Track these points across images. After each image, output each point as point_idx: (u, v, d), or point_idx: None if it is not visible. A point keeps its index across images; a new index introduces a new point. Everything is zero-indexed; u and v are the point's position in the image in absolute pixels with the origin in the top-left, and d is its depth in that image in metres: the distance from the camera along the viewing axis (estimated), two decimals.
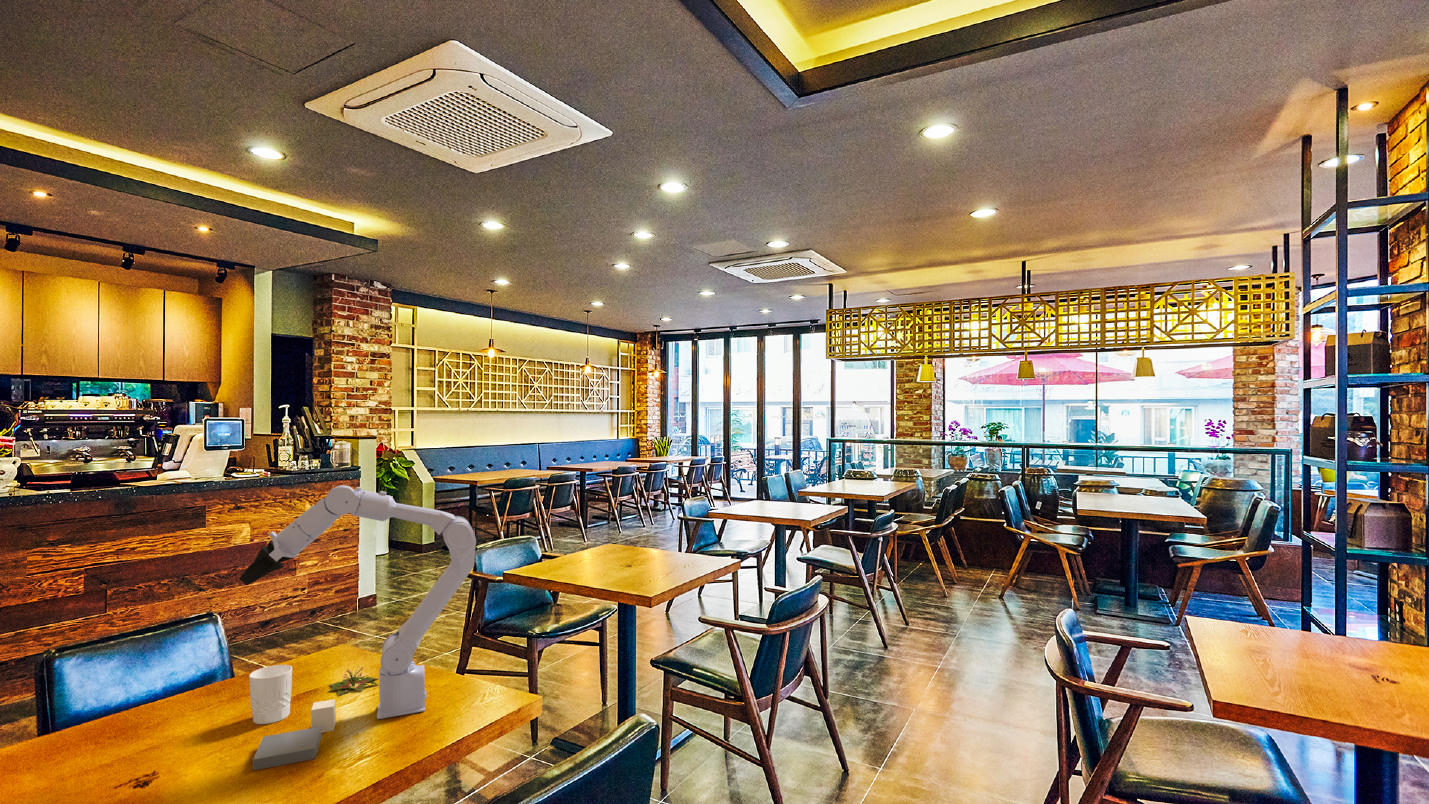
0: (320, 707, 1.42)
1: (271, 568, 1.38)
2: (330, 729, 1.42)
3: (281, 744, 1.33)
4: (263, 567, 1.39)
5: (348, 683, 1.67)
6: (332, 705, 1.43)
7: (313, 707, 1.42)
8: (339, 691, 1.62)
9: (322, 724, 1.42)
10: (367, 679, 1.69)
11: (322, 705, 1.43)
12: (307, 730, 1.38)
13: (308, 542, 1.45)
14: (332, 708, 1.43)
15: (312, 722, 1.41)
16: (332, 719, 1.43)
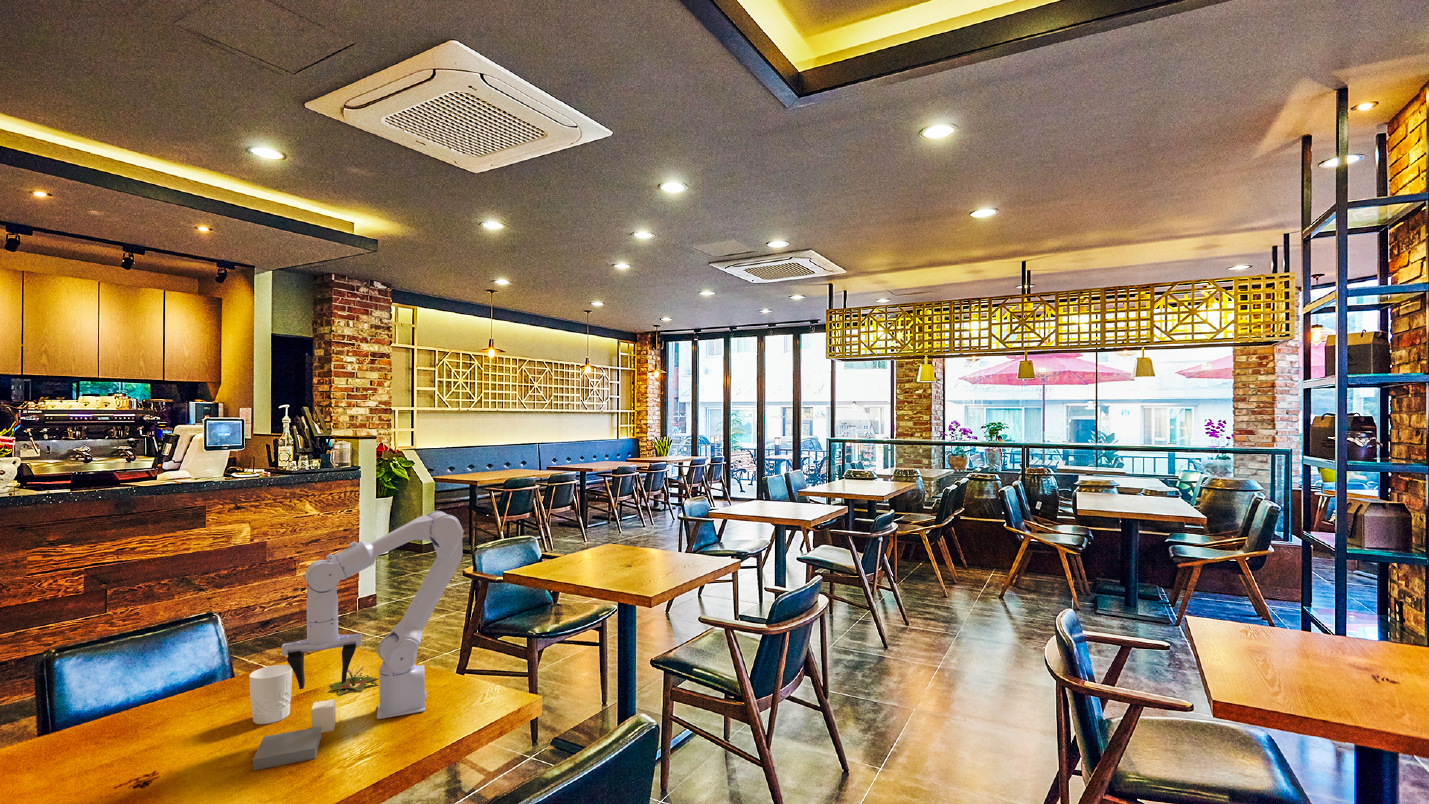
0: (320, 707, 1.42)
1: None
2: (330, 729, 1.42)
3: (281, 744, 1.33)
4: None
5: (348, 683, 1.67)
6: (332, 705, 1.43)
7: (313, 707, 1.42)
8: (339, 691, 1.62)
9: (322, 724, 1.42)
10: (368, 679, 1.69)
11: (322, 705, 1.43)
12: (307, 730, 1.38)
13: None
14: (332, 708, 1.43)
15: (312, 722, 1.41)
16: (332, 719, 1.43)
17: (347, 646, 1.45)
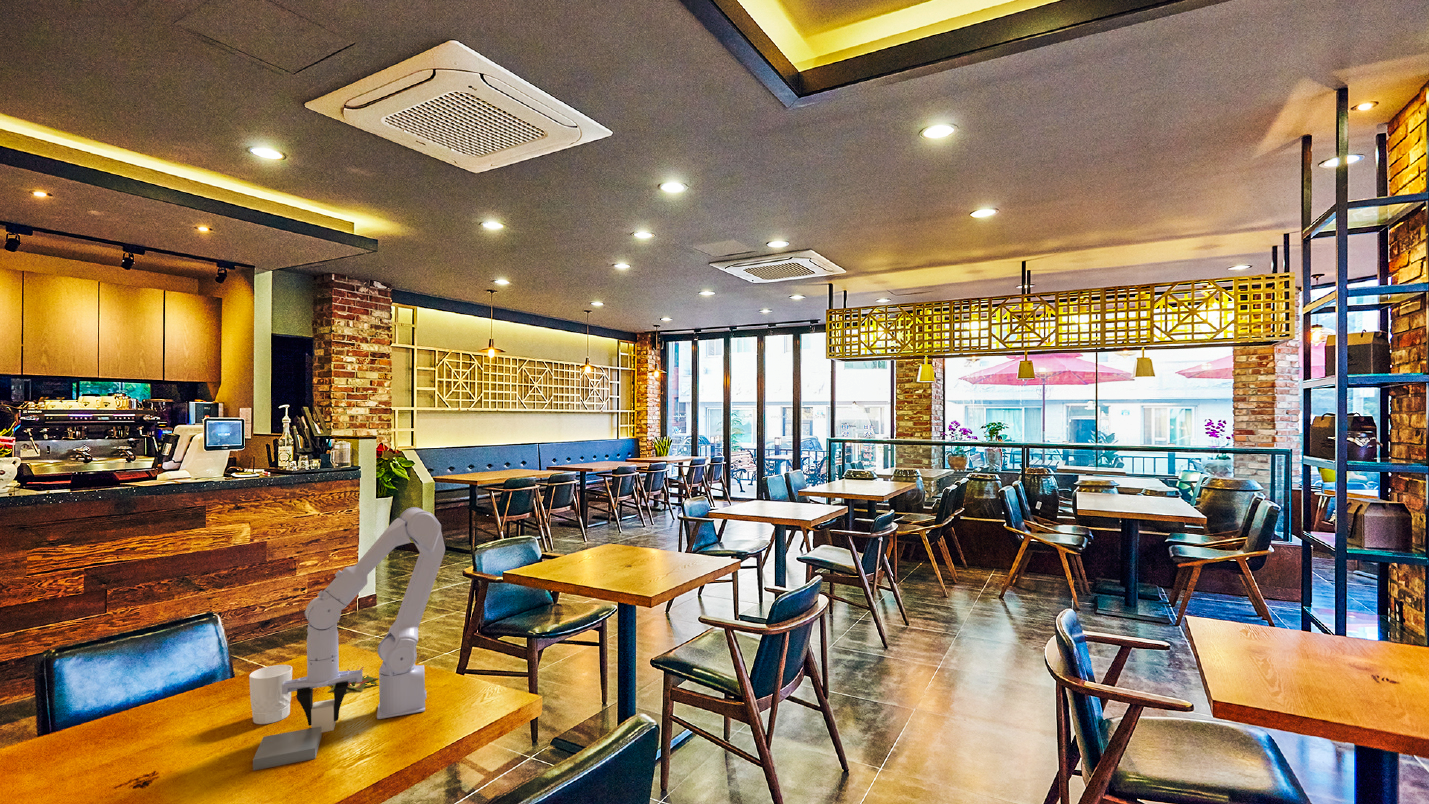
0: (320, 707, 1.42)
1: None
2: (330, 729, 1.42)
3: (281, 744, 1.33)
4: None
5: None
6: (332, 705, 1.43)
7: (313, 707, 1.42)
8: None
9: (322, 723, 1.42)
10: (368, 679, 1.69)
11: (322, 705, 1.43)
12: (307, 730, 1.38)
13: None
14: (332, 708, 1.43)
15: (312, 722, 1.41)
16: (332, 719, 1.43)
17: (347, 683, 1.45)
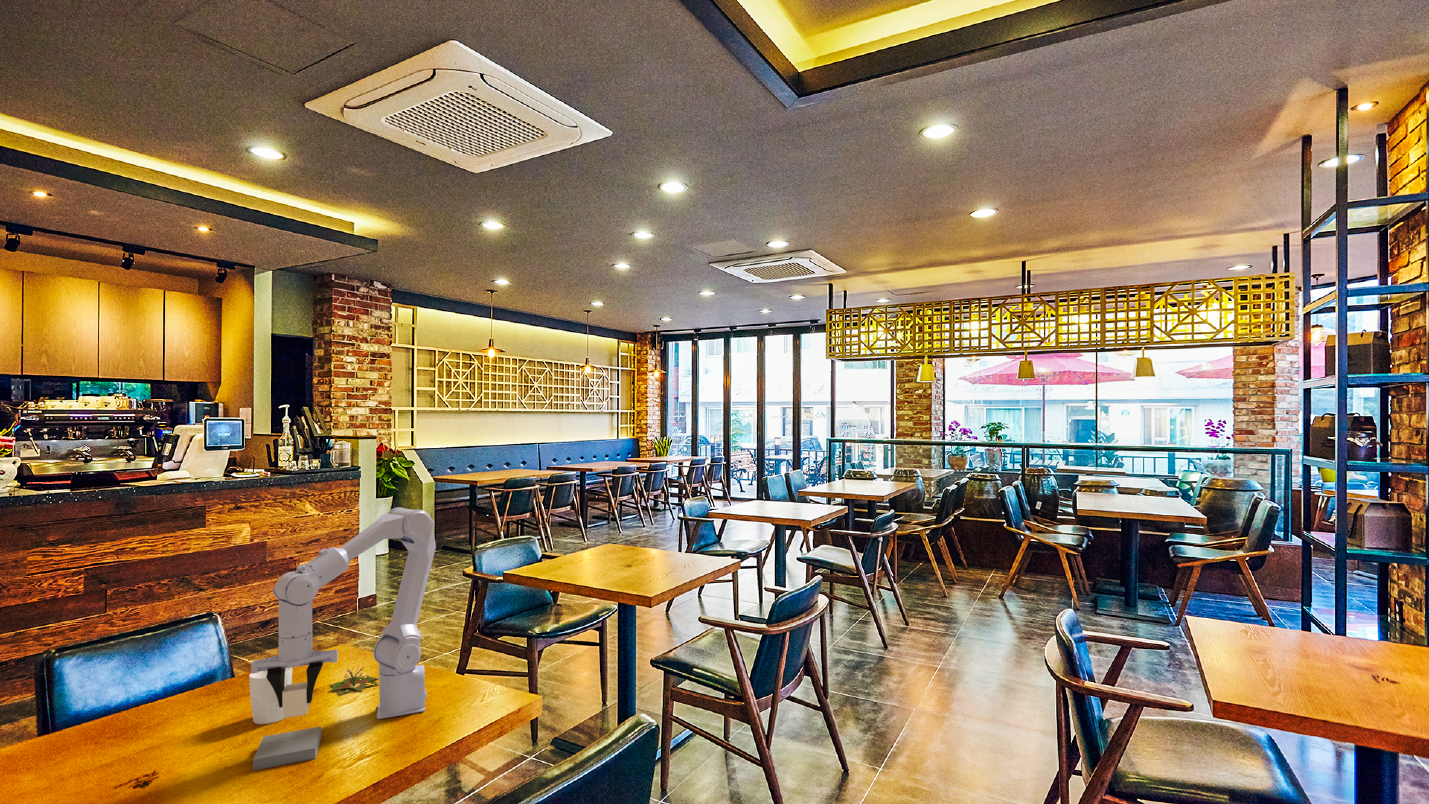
0: (292, 689, 1.35)
1: None
2: (302, 713, 1.35)
3: (281, 744, 1.33)
4: None
5: (349, 683, 1.67)
6: (305, 687, 1.35)
7: (285, 689, 1.35)
8: (340, 691, 1.62)
9: (294, 707, 1.34)
10: (368, 679, 1.69)
11: (294, 687, 1.36)
12: (307, 730, 1.38)
13: None
14: (305, 690, 1.35)
15: (283, 705, 1.33)
16: (305, 702, 1.35)
17: (322, 663, 1.37)
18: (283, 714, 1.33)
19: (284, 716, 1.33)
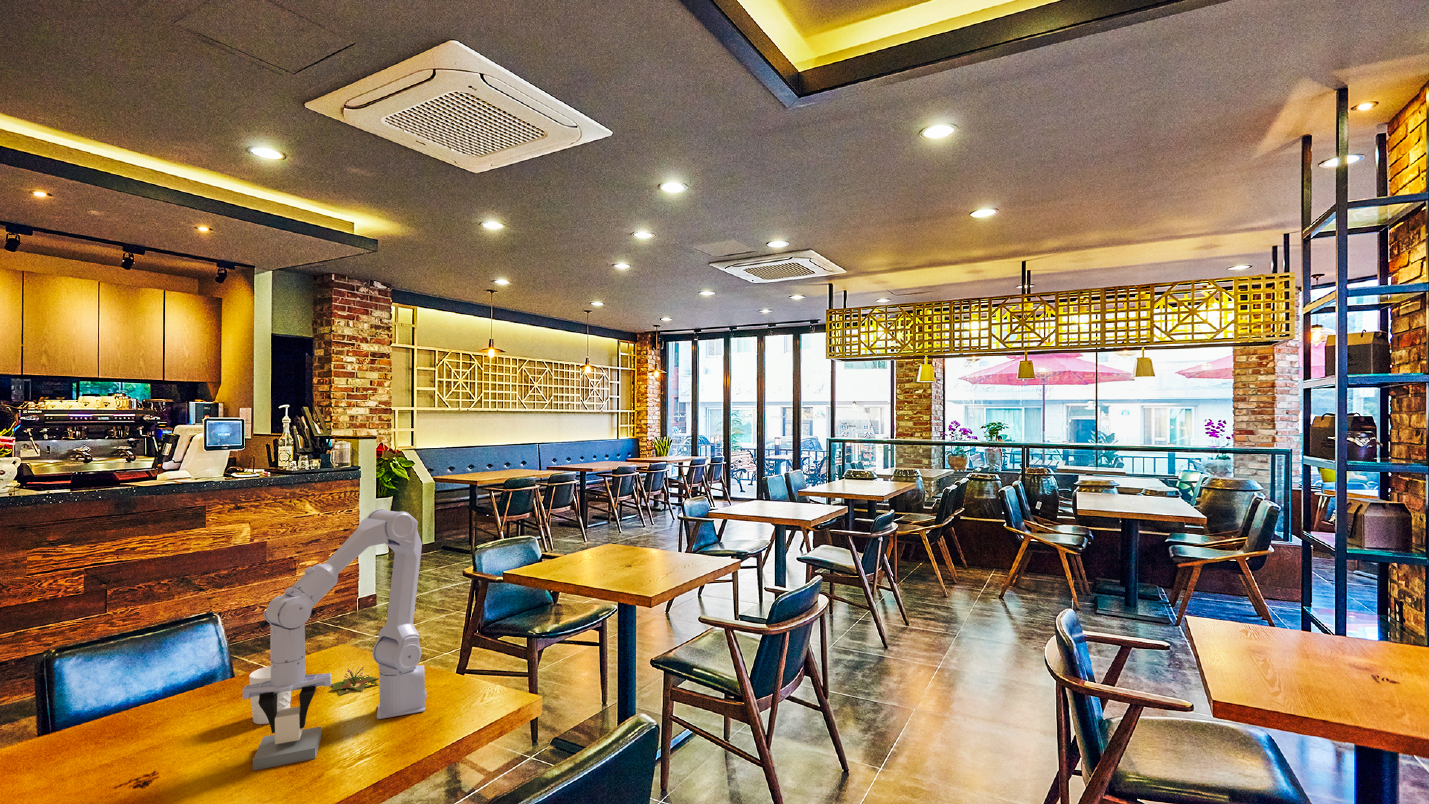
0: (285, 715, 1.32)
1: None
2: (295, 738, 1.32)
3: (281, 744, 1.33)
4: None
5: (349, 683, 1.67)
6: (298, 712, 1.33)
7: (277, 715, 1.32)
8: (340, 691, 1.62)
9: (286, 733, 1.32)
10: (368, 679, 1.69)
11: (287, 712, 1.33)
12: (307, 730, 1.38)
13: None
14: (298, 716, 1.33)
15: (276, 731, 1.31)
16: (298, 728, 1.33)
17: (315, 687, 1.35)
18: (276, 740, 1.31)
19: (277, 742, 1.31)
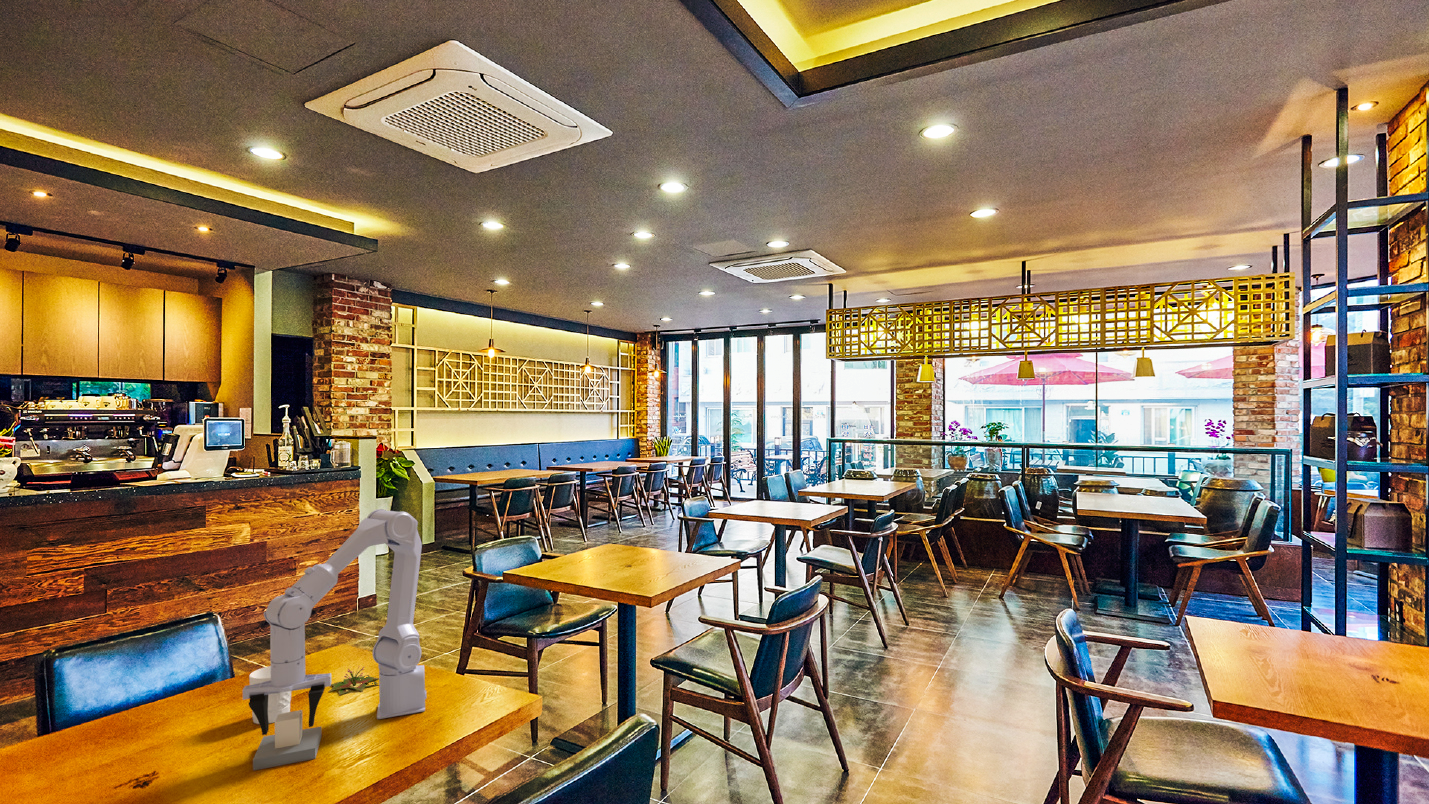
0: (285, 719, 1.32)
1: None
2: (295, 742, 1.32)
3: None
4: None
5: (349, 683, 1.67)
6: (298, 717, 1.33)
7: (277, 719, 1.32)
8: (340, 691, 1.62)
9: (286, 737, 1.32)
10: (368, 679, 1.69)
11: (287, 717, 1.33)
12: (307, 730, 1.38)
13: None
14: (298, 720, 1.33)
15: (276, 735, 1.31)
16: (298, 732, 1.33)
17: (315, 687, 1.35)
18: (276, 744, 1.31)
19: (277, 746, 1.31)
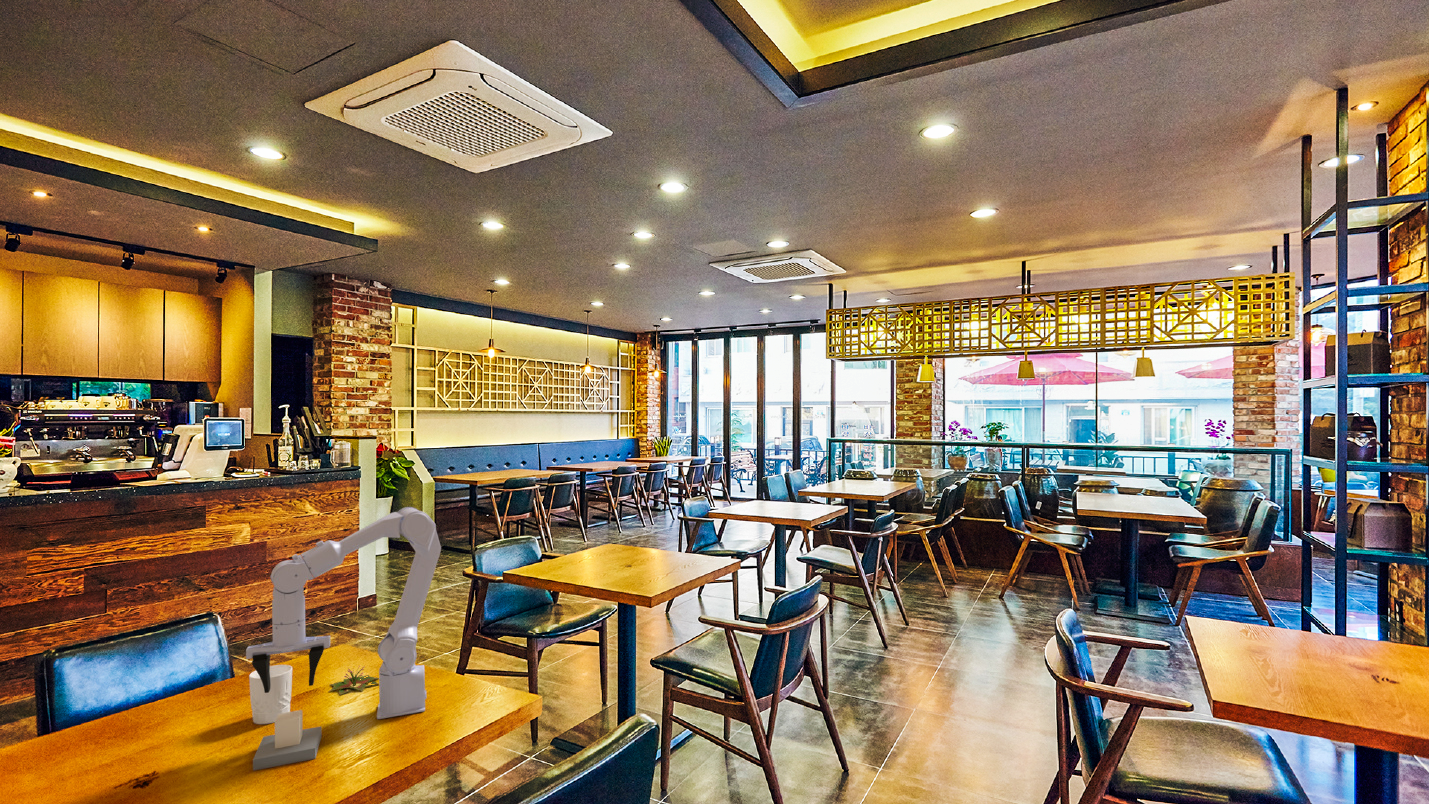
0: (285, 719, 1.32)
1: None
2: (295, 742, 1.32)
3: None
4: None
5: (349, 683, 1.67)
6: (298, 717, 1.33)
7: (277, 719, 1.32)
8: (340, 691, 1.62)
9: (286, 737, 1.32)
10: (369, 679, 1.69)
11: (287, 717, 1.33)
12: (307, 730, 1.38)
13: None
14: (298, 720, 1.33)
15: (276, 735, 1.31)
16: (298, 732, 1.33)
17: (314, 648, 1.42)
18: (276, 744, 1.31)
19: (277, 746, 1.31)
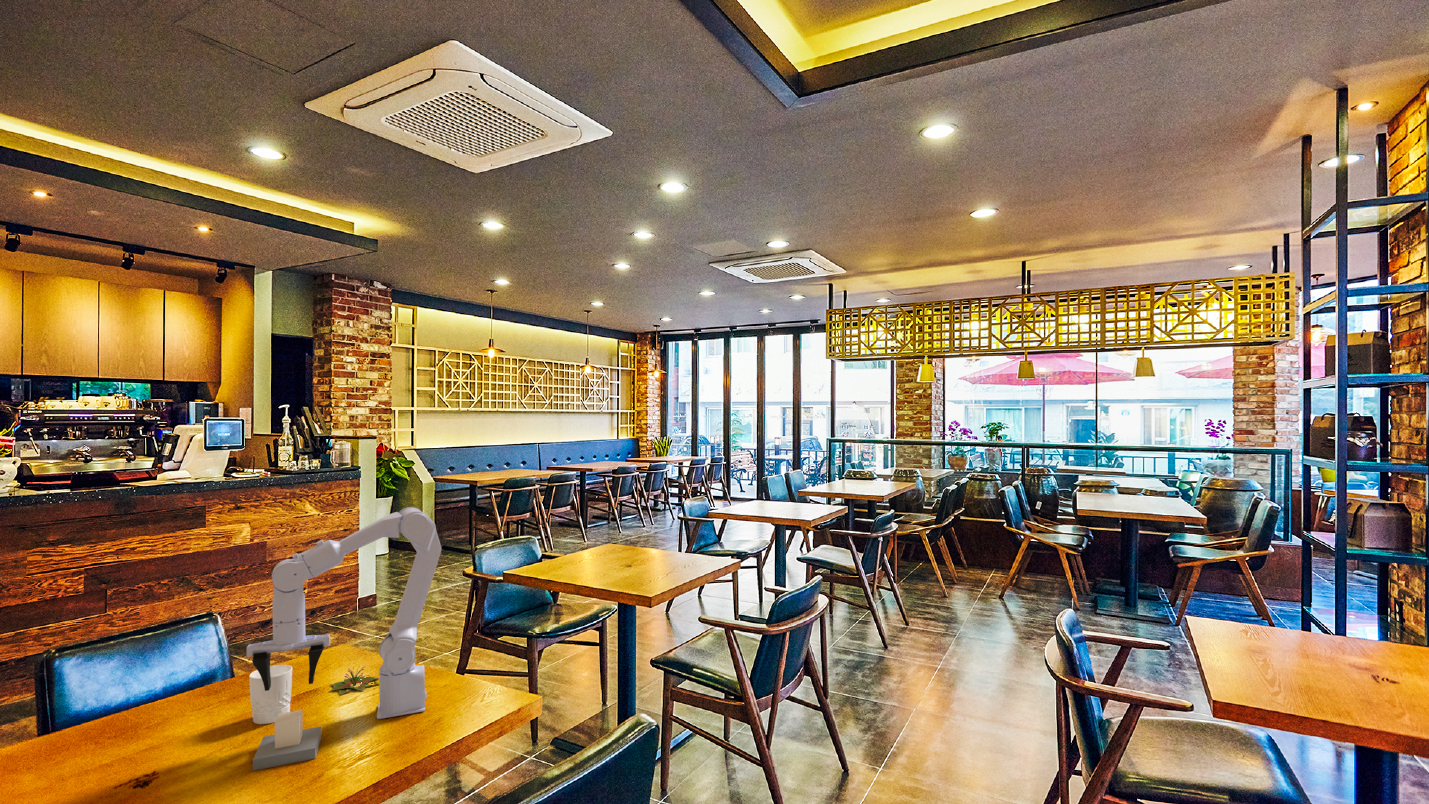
0: (285, 719, 1.32)
1: None
2: (295, 742, 1.32)
3: None
4: None
5: (349, 683, 1.67)
6: (298, 717, 1.33)
7: (277, 719, 1.32)
8: (340, 691, 1.62)
9: (286, 737, 1.32)
10: (369, 679, 1.69)
11: (287, 717, 1.33)
12: (307, 730, 1.38)
13: None
14: (298, 720, 1.33)
15: (276, 735, 1.31)
16: (298, 732, 1.33)
17: (314, 647, 1.43)
18: (276, 744, 1.31)
19: (277, 746, 1.31)
